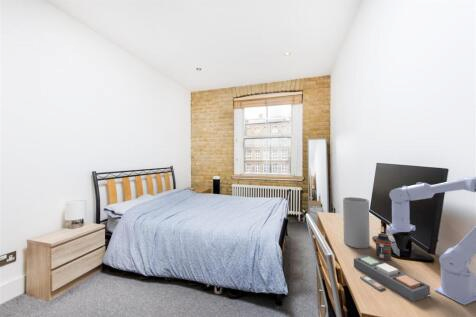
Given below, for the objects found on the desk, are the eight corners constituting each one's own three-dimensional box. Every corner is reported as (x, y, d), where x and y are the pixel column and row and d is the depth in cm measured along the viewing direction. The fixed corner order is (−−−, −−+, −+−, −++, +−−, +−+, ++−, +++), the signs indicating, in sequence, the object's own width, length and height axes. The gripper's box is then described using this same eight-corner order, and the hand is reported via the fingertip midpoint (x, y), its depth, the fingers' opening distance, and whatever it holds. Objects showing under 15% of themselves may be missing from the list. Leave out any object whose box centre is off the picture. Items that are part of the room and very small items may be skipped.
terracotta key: (405, 282, 77) (405, 274, 77) (420, 291, 72) (420, 282, 72) (395, 285, 75) (395, 277, 75) (410, 294, 70) (410, 285, 70)
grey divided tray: (368, 262, 93) (368, 255, 93) (429, 295, 71) (429, 286, 71) (353, 266, 91) (353, 258, 91) (413, 301, 68) (413, 291, 68)
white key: (385, 270, 84) (385, 263, 84) (398, 277, 79) (398, 269, 79) (376, 272, 82) (376, 265, 82) (389, 279, 78) (388, 271, 78)
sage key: (368, 263, 91) (368, 256, 91) (379, 268, 86) (379, 262, 86) (360, 265, 89) (360, 258, 89) (370, 271, 85) (370, 264, 85)
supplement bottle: (384, 262, 94) (384, 237, 93) (372, 255, 99) (372, 233, 99) (394, 259, 95) (394, 236, 95) (382, 254, 101) (381, 231, 101)
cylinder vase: (367, 241, 116) (366, 198, 116) (371, 250, 104) (370, 202, 104) (343, 238, 121) (342, 196, 121) (344, 246, 110) (343, 201, 109)
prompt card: (365, 276, 83) (365, 275, 83) (385, 289, 75) (385, 287, 75) (360, 278, 82) (360, 276, 82) (379, 290, 74) (379, 289, 74)
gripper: (402, 212, 90) (402, 242, 90) (378, 216, 85) (378, 247, 85) (420, 216, 83) (421, 249, 83) (396, 221, 79) (396, 255, 79)
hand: (401, 249), depth 84 cm, fingers closed
